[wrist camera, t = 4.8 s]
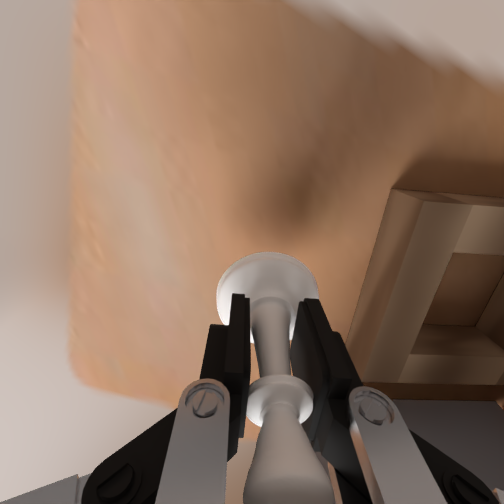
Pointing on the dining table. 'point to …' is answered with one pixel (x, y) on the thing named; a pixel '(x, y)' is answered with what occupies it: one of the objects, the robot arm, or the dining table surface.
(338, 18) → the dining table surface
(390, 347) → the socket block
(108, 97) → the dining table surface
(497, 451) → the grey green box
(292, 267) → the chess piece
